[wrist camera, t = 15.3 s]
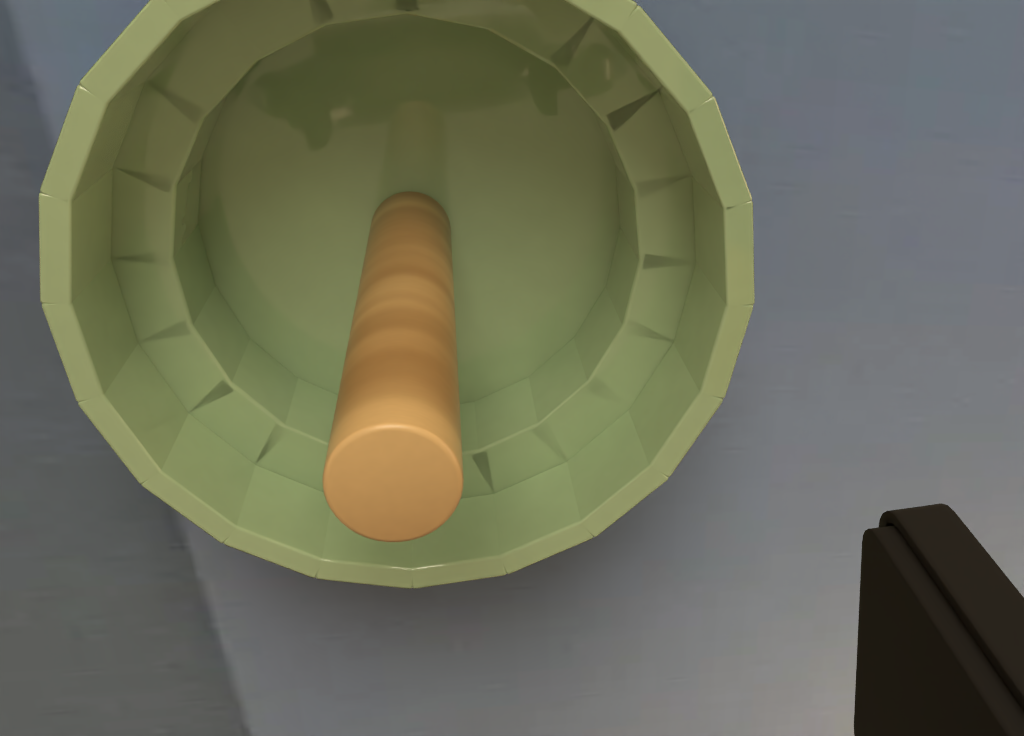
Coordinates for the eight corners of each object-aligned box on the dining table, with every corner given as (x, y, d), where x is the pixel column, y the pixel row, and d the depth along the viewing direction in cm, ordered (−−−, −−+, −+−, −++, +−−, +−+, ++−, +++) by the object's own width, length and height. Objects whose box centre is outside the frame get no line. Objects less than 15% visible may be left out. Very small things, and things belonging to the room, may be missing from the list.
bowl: (134, -149, 21) (32, -165, 16) (753, -20, 23) (850, 4, 18) (120, 421, 27) (42, 551, 22) (615, 483, 29) (657, 616, 24)
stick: (364, 196, 24) (307, 436, 13) (444, 185, 24) (452, 415, 13) (379, 272, 25) (337, 554, 14) (456, 260, 25) (473, 534, 14)
